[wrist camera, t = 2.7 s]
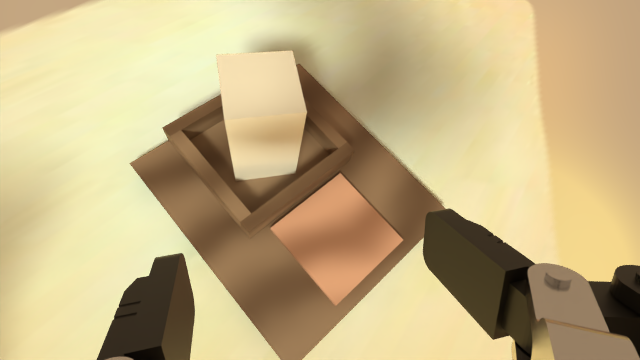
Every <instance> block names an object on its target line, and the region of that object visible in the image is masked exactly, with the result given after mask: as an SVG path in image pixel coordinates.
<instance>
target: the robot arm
mask: <svg viewBox="0 0 640 360" xmlns="http://www.w3.org/2000/svg"><path fill="white" fill-rule="evenodd" d="M423 256H424V260H425V263H426V265H427V267H428V268H429V270H430V271H431V272H432V273H433V274H434V275H435V276H436V277H437V278H438V279H439V281H440V282H441V283H442V284H443V285H444V286H445V287H446V288H447V289H448V291H449V292H450V293H451V294H452V295H453V296H454V297H455V298H456V299H457V300H458V302H459V303H460V304H461V305H462V306H463V307H464V308H465V309H466V310H467V312H468V313H469V314H470V315H471V316H472V317H473V318H474V319H475V320H476V321H477V323H478V324H479V325H480V326H481V327H482V328H483V329H484V330H485V331H486V333H487V334H488V335H489V336H490V337H491V338H492V339H493V340H494V339H497V338H501V337H505V336H509V335H510V336H511V337H512V338H513V342H512V349H511V350H512V360H640V266H636V265H623V266H620V267H618V268H617V269H616V270H615V273H614V276H613V279H612V282H594V281H587V280H586V279H585V278H584V277H582V276H581V275H580V274H578V273H577V272H575V271H573V270H570V269H568V268H566V267H563V266H559V265H555V264H547V263H541V264H535V263H533V262H532V261H531V260H529V259H528V258H526V257H525V256H524V255H522V254H521V253H519V252H518V251H517V250H515V249H514V248H512V247H511V246H510V245H508V244H507V243H503V241H502V240H501V239H500V238H498V237H497V236H494V235H493V233H491V232H490V231H488V230H487V229H486V228H484V227H483V226H481V225H478V224H476V223H473V222H471V221H468V220H466V219H464V218H463V217H462V216H460V215H459V214H458V213H456V212H455V211H453V210H452V209H443V210H437V211H432V212H428V213H427V215H426V218H425V230H424V244H423ZM194 316H195V307H194V298H193V292H192V288H191V284H190V279H189V275H188V270H187V266H186V262H185V258H184V255H183V254H182V253H180V254H174V255H168V256H162V257H156V258H155V259H154V262H153V265H152V268H151V271H150V274H149V276H147V277H141V278H137V279H136V280H135V281H134V282H133V283H132V284H131V285H130V286H129V287H128V288H127V289H126V290H125V291H124V294H123V296H122V299H121V301H120V304H119V308H117V311H116V313H115V316H114V320H113V321H112V323H111V326H110V328H109V331H108V333H107V336H106V338H105V341H104V343H103V345H102V348H101V350H100V353H99V355H98V358H97V360H190V353H191V344H192V335H193V326H194Z"/></svg>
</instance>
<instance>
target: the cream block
mask: <svg viewBox="0 0 640 360" xmlns="http://www.w3.org/2000/svg"><path fill="white" fill-rule="evenodd" d="M216 57H217V65H218V73H219V82H220V90H221V98H222V106H223V114H224V121H225V127H226V132H227V137H228V143H229V148H230V153H231V159H232V164H233V169H234V175H235V180H236V181H241V180H249V179H256V178H264V177H271V176H279V175H286V174H294V173H296V168H297V163H298V157H299V152H300V147H301V141H302V136H303V130H304V125H305V120H306V114H307V110H306V106H305V102H304V97H303V93H302V89H301V84H300V80H299V76H298V71H297V67H296V63H295V58H294V54H293V50H291V51H273V52H255V53H237V54H219V55H216Z"/></svg>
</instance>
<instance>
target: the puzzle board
mask: <svg viewBox="0 0 640 360" xmlns="http://www.w3.org/2000/svg"><path fill="white" fill-rule="evenodd" d="M296 67H297V71H298V76H299V80H300V84H301V89H302V93H303V97H304V102H305V106H306V110H307V114H306V120H305V125H304V130H303V136H302V141H301V147H300V152H299V157H298V163H297V168H296V173H294V174H286V175H279V176H271V177H264V178H256V179H249V180H241V181H236V180H235V175H234V169H233V164H232V159H231V153H230V148H229V143H228V137H227V132H226V127H225V121H224V114H223V106H222V98H221V95H219V96H217V97H216V98H214V99H212V100H210V101H208V102H207V103H205V104H203V105H201V106H200V107H198V108H196V109H194V110H193V111H191V112H189V113H187V114H186V115H184V116H182V117H180V118H179V119H177V120H175V121H173V122H172V123H170V124H168V125H166V126H165V127H163V130H164V132H165V134H166V136H167V138H168V140H169V141H167V142H165V143H164V144H162V145H160V146H159V147H157V148H155V149H153V150H152V151H150V152H148V153H147V154H145V155H143V156H142V157H140V158H138V159H136V160H135V161H133V162H131V163H130V164H131V166H132V167H133V168H134V170H135V171H136V172H137V174H138V175H139V176H140V177H141V179H142V180H143V181H144V183H145V184H146V185H147V187H148V188H149V189H150V190H151V192H152V193H153V194H154V196H155V197H156V198H157V200H158V201H159V202H160V203H161V205H162V206H163V207H164V209H165V210H166V211H167V212H168V214H169V215H170V216H171V218H172V219H173V220H174V222H175V223H176V224H177V225H178V227H179V228H180V229H181V231H182V232H183V233H184V235H185V236H186V237H187V238H188V240H189V241H190V242H191V244H192V245H193V246H194V247H195V249H196V250H197V251H198V253H199V254H200V255H201V257H202V258H203V259H204V260H205V262H206V263H207V264H208V266H209V267H210V268H211V270H212V271H213V272H214V273H215V275H216V276H217V277H218V279H219V280H220V281H221V282H222V284H223V285H224V286H225V288H226V289H227V290H228V292H229V293H230V294H231V295H232V297H233V298H234V299H235V301H236V302H237V303H238V305H239V306H240V307H241V308H242V310H243V311H244V312H245V314H246V315H247V316H248V317H249V319H250V320H251V321H252V323H253V324H254V325H255V327H256V328H257V329H258V330H259V332H260V333H261V334H262V336H263V337H264V338H265V340H266V341H267V342H268V343H269V345H270V346H271V347H272V349H273V350H274V351H275V352H276V354H277V355H278V356H279V358H280V359H281V360H302V359H303V358H304V357H305V356H306V355H307V354H308V353H309V352H310V351H311V350H312V349H313V348H314V347H315V346H316V345H317V344H318V343H319V342H320V341H321V340H322V339H323V338H324V337H325V336H326V335H327V334H328V333H329V332H330V331H331V330H332V329H333V328H334V327H335V326H336V325H337V324H338V323H339V322H340V321H341V320H342V319H343V318H344V317H345V316H346V315H347V314H348V313H349V312H350V311H351V310H352V309H353V308H354V307H355V306H356V305H357V304H358V303H359V302H360V301H361V300H362V299H363V298H364V297H365V296H366V295H367V294H368V293H369V292H370V291H371V290H372V289H373V288H374V287H375V286H376V285H377V284H378V283H379V282H380V281H381V280H382V279H383V278H384V277H385V276H386V275H387V274H388V273H389V272H390V271H391V270H392V268H393V267H394V266H395V265H396V264H397V263H398V262H399V261H400V260H401V259H402V258H403V257H404V256H405V255H406V254H407V253H408V252H409V251H410V250H411V249H412V248H413V247H414V246H415V245H416V244H417V243H418V242H419V241H420V240H421V239H422V238H423V237H424V230H425V218H426V215H427V213H428V212H432V211H437V210H443V209H445V208H444V207H443V206H442V205H441V204H440V203H439V202H438V201H437V200H436V199H435V198H434V197H433V196H432V195H431V194H430V193H429V192H428V191H427V190H426V189H425V188H424V187H423V186H422V185H421V184H420V183H419V182H418V181H417V180H416V179H415V178H414V177H413V176H412V175H411V174H410V173H409V172H408V171H407V170H406V169H405V168H404V167H403V166H402V165H401V164H400V163H399V162H398V161H397V160H396V159H395V158H394V157H393V156H392V155H391V154H390V153H389V152H388V151H387V150H386V149H385V148H384V147H383V146H382V145H381V144H380V143H379V142H378V141H377V140H376V139H375V138H374V137H373V136H372V135H371V134H370V133H369V132H368V131H367V130H366V129H365V128H364V127H363V126H362V125H361V124H360V123H359V122H358V121H357V120H356V119H355V118H354V117H352V116H351V115H350V114H349V113H348V112H347V111H346V110H345V109H344V108H343V107H342V106H341V105H340V104H339V103H338V102H337V101H336V100H335V99H334V98H333V97H332V96H331V95H330V94H329V93H328V92H327V91H326V90H325V89H324V88H323V87H322V86H321V85H320V84H319V83H318V82H317V81H316V80H315V79H314V78H313V77H312V76H311V75H310V74H309V73H308V72H307V71H306V70H305V69H304V68H303V67H302V66H301V65H300V64H298V65H296Z"/></svg>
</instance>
